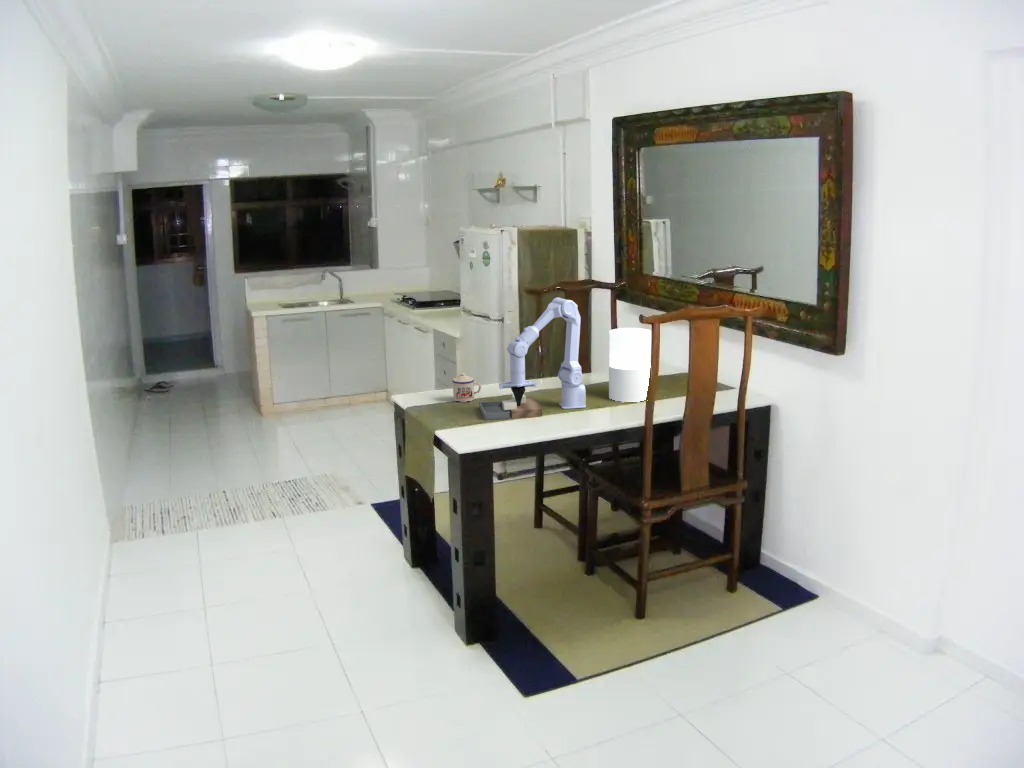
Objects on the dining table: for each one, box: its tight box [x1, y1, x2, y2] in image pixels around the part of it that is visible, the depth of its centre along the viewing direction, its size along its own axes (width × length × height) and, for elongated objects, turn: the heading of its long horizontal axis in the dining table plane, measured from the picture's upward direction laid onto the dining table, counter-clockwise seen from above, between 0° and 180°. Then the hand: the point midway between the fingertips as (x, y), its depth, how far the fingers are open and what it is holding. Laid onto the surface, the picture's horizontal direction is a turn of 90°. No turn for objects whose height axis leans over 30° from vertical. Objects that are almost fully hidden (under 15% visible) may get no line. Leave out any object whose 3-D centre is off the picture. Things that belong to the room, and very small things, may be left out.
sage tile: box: [511, 393, 527, 403], centre depth 338 cm, size 5×5×2 cm
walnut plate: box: [504, 397, 543, 419], centre depth 335 cm, size 12×18×3 cm, turn 9°
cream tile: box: [501, 399, 517, 410], centre depth 329 cm, size 5×5×2 cm
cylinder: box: [608, 327, 652, 403], centre depth 349 cm, size 17×17×28 cm
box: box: [478, 400, 512, 421], centre depth 333 cm, size 10×18×2 cm, turn 9°
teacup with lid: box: [452, 372, 482, 403], centre depth 353 cm, size 12×9×12 cm
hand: (518, 405), depth 330 cm, fingers closed
